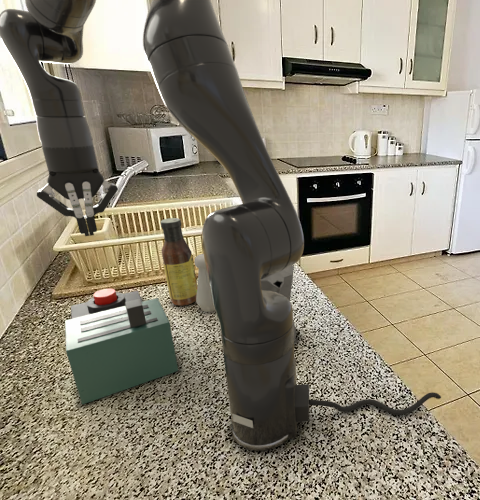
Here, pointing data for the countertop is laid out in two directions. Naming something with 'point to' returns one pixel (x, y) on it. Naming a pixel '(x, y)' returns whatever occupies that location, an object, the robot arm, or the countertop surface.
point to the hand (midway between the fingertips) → (89, 234)
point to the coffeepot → (280, 284)
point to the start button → (105, 296)
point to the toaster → (118, 350)
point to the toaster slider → (135, 313)
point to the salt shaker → (203, 286)
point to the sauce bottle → (178, 264)
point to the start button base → (92, 308)
